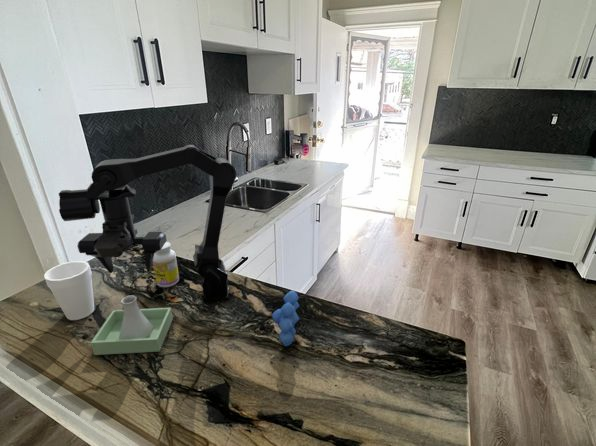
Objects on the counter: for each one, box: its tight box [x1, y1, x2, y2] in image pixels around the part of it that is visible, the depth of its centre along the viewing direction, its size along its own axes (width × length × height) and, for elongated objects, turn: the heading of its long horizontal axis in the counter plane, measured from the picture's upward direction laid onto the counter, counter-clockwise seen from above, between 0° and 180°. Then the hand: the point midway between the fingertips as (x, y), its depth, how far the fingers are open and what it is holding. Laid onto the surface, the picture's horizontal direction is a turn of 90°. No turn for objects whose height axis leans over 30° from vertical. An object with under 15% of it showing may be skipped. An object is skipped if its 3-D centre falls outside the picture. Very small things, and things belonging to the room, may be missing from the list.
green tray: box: [90, 307, 174, 356], centre depth 75 cm, size 14×11×4 cm
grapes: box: [271, 290, 300, 347], centre depth 74 cm, size 12×7×12 cm, turn 170°
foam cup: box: [43, 260, 95, 321], centre depth 81 cm, size 10×9×13 cm
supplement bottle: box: [152, 241, 180, 288], centre depth 95 cm, size 7×7×13 cm
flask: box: [119, 294, 154, 340], centre depth 74 cm, size 7×7×10 cm
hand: (130, 271), depth 80 cm, fingers open, 9 cm apart
